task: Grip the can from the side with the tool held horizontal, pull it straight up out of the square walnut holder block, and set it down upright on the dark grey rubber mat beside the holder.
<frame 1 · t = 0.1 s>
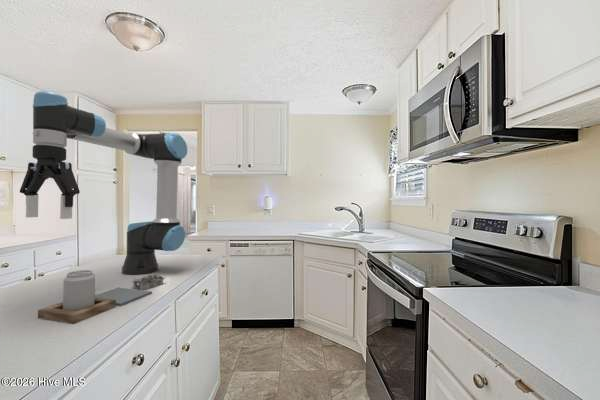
hand: (48, 218, 84), 28 cm above the worktop, tool pointing down, fingers open, 13 cm apart
holder: (78, 312, 85), on the worktop
can: (78, 312, 85), resting in holder
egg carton: (148, 286, 112), on the worktop
mat: (119, 297, 98), on the worktop
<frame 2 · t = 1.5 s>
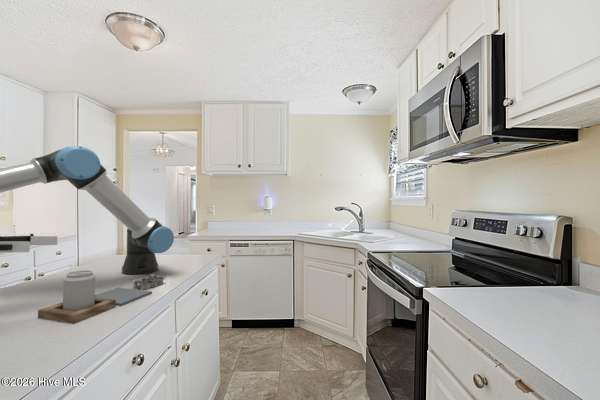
hand: (44, 243, 82), 21 cm above the worktop, tool horizontal, fingers open, 13 cm apart
nothing on the worktop moved.
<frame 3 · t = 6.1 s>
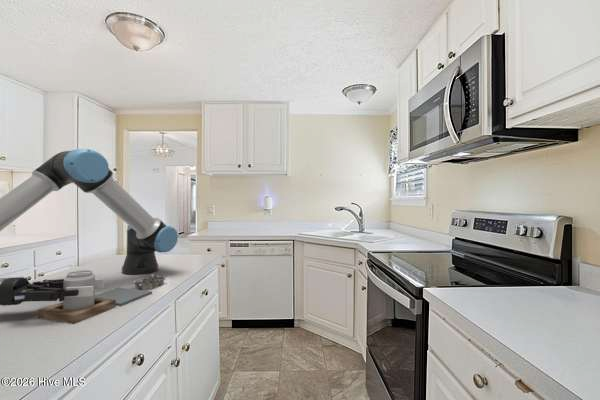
hand: (98, 286, 86), 7 cm above the worktop, tool horizontal, fingers closed on can, 7 cm apart
can: (78, 312, 85), resting in holder, touching gripper
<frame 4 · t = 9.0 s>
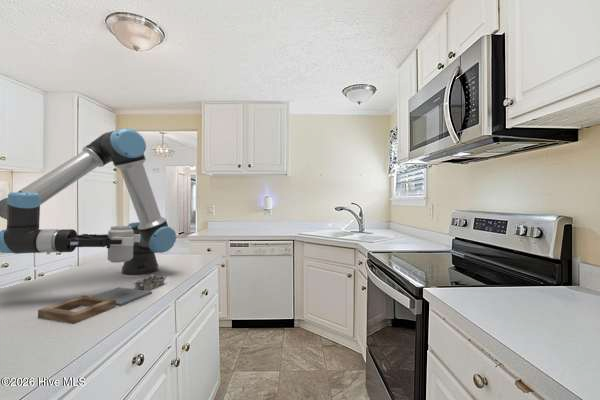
hand: (136, 239, 100), 20 cm above the worktop, tool horizontal, fingers closed on can, 7 cm apart
can: (120, 261, 98), point 12 cm above the worktop, touching gripper
when the fingers open (9 cm above the worktop, at t = 11.8 s): can drops 1 cm, resting on mat.
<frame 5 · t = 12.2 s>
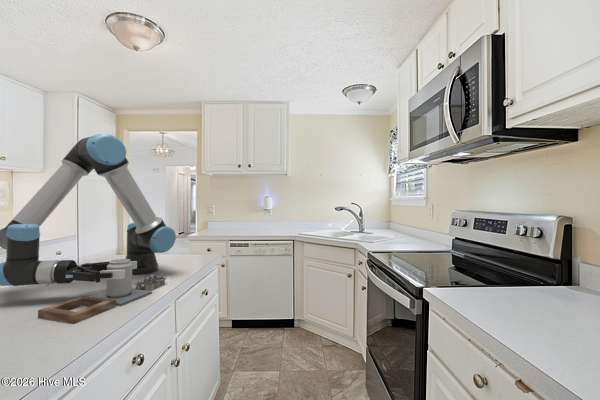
hand: (131, 269, 99), 9 cm above the worktop, tool horizontal, fingers open, 13 cm apart
can: (119, 295, 98), point 1 cm above the worktop, touching mat
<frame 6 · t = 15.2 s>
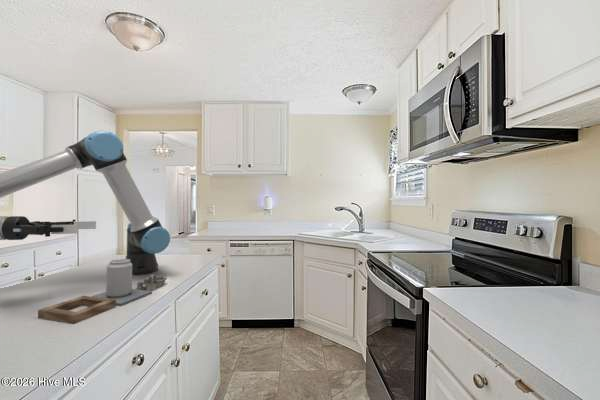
hand: (87, 226, 95), 24 cm above the worktop, tool horizontal, fingers open, 13 cm apart
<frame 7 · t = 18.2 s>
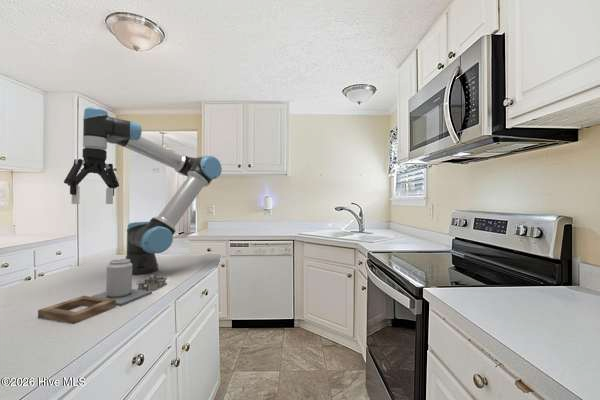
hand: (93, 204, 109), 32 cm above the worktop, tool pointing down, fingers open, 13 cm apart
at the end: can inside the target area on the mat (0.1 cm from its centre), point 0.6 cm above the mat's base; can tilted 0°; the gripper is holding nothing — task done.
